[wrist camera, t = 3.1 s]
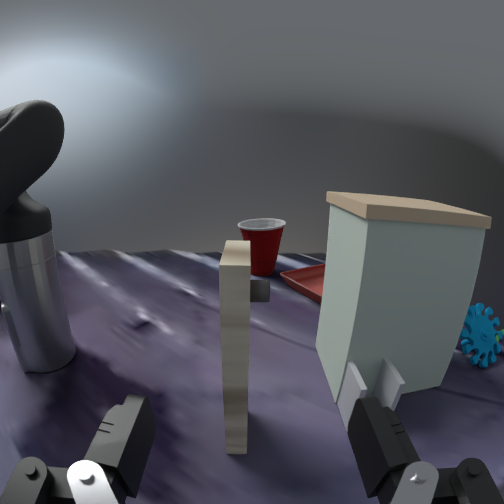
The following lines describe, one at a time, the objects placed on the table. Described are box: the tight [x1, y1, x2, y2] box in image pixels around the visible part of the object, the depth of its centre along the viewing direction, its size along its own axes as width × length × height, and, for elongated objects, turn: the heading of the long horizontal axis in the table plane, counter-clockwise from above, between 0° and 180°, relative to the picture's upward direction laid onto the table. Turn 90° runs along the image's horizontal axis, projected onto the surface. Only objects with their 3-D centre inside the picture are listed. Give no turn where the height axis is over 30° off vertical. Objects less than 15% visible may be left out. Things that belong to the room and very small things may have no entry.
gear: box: [459, 303, 504, 368], centre depth 34 cm, size 11×6×10 cm
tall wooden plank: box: [219, 241, 270, 454], centre depth 22 cm, size 6×3×18 cm, turn 1°
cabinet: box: [316, 191, 491, 432], centre depth 29 cm, size 17×15×21 cm
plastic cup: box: [238, 218, 286, 276], centre depth 68 cm, size 11×11×12 cm
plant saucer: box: [280, 263, 326, 304], centre depth 59 cm, size 18×18×3 cm
